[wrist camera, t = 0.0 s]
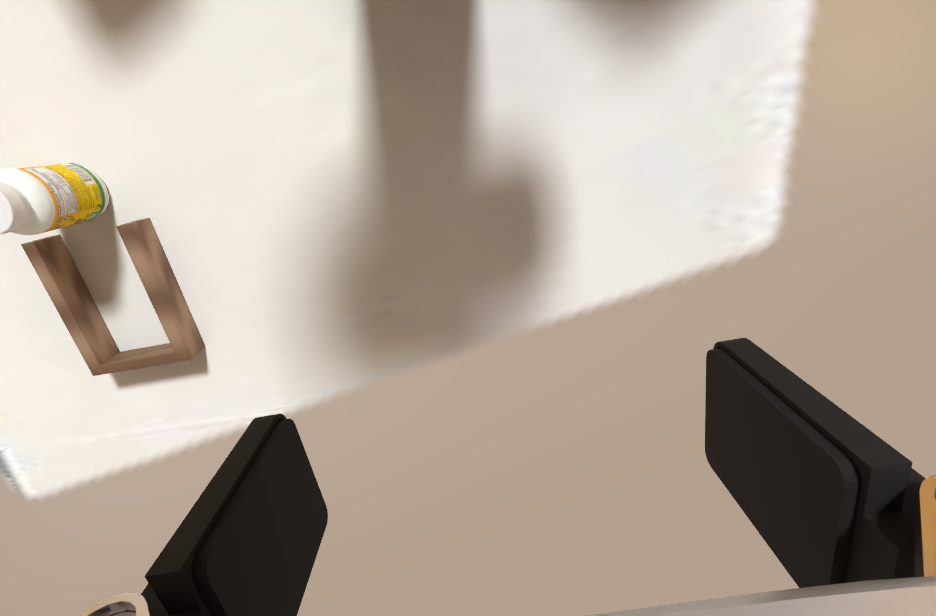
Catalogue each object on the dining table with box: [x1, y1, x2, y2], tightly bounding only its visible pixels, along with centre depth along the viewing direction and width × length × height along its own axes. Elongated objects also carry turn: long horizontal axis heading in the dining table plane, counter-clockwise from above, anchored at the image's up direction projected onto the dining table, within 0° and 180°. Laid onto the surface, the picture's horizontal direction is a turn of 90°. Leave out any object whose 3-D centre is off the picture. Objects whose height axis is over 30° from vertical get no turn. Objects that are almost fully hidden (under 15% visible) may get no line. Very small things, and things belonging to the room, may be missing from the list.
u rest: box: [21, 218, 205, 376], centre depth 46 cm, size 14×10×3 cm
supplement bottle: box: [0, 162, 109, 235], centre depth 39 cm, size 5×5×10 cm
